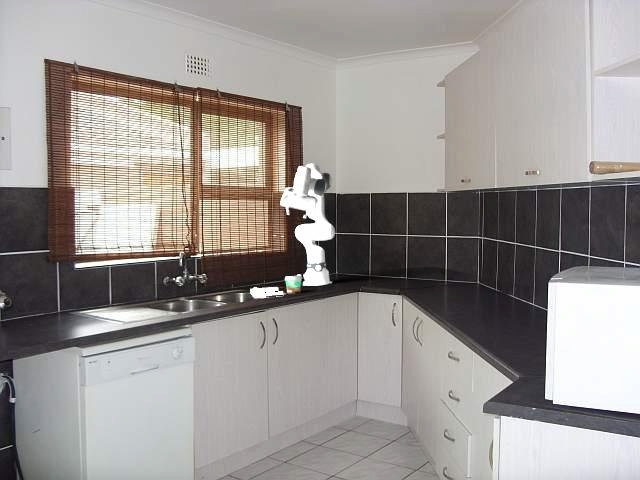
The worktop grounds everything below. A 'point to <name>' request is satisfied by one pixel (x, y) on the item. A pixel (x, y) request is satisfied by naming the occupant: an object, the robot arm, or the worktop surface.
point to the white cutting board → (260, 293)
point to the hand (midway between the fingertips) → (296, 216)
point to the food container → (293, 283)
